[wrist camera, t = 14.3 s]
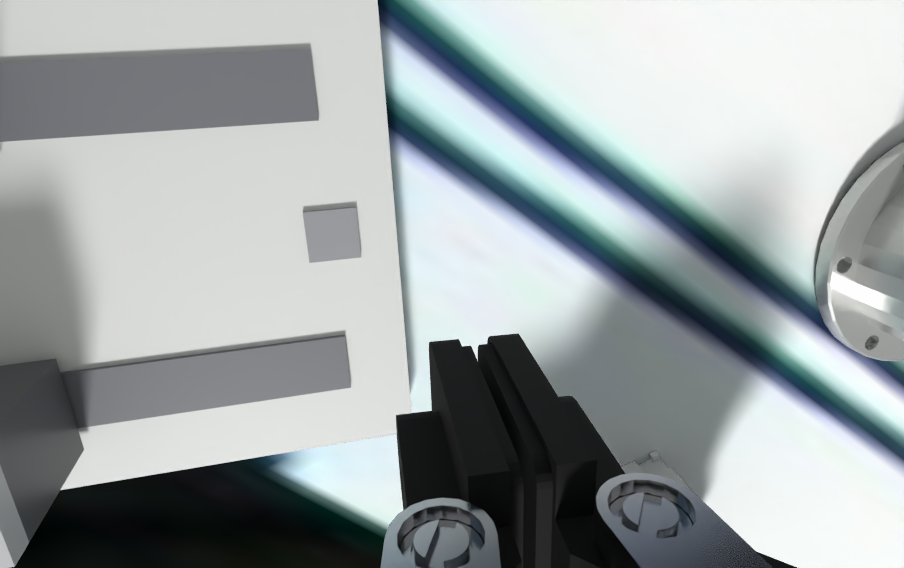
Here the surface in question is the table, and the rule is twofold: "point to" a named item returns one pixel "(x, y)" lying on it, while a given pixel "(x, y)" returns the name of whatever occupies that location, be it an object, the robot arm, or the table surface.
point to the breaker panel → (201, 226)
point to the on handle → (32, 450)
